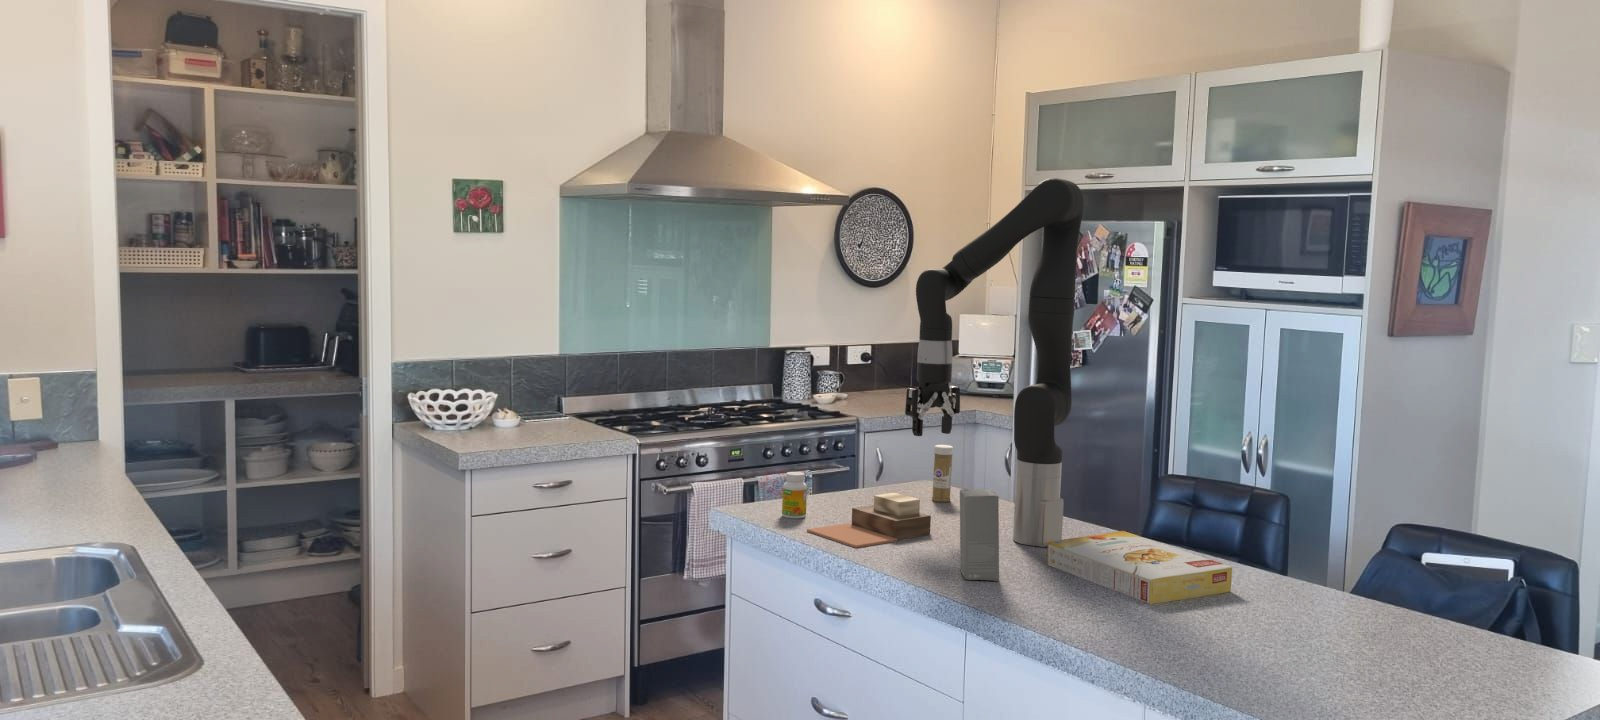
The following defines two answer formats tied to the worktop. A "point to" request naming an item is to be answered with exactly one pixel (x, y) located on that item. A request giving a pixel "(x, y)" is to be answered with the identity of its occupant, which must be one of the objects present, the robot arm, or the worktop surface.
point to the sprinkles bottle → (942, 473)
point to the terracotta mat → (851, 535)
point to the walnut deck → (891, 522)
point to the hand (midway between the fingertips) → (932, 434)
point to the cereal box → (1139, 567)
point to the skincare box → (979, 534)
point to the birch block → (896, 504)
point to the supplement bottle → (794, 496)
